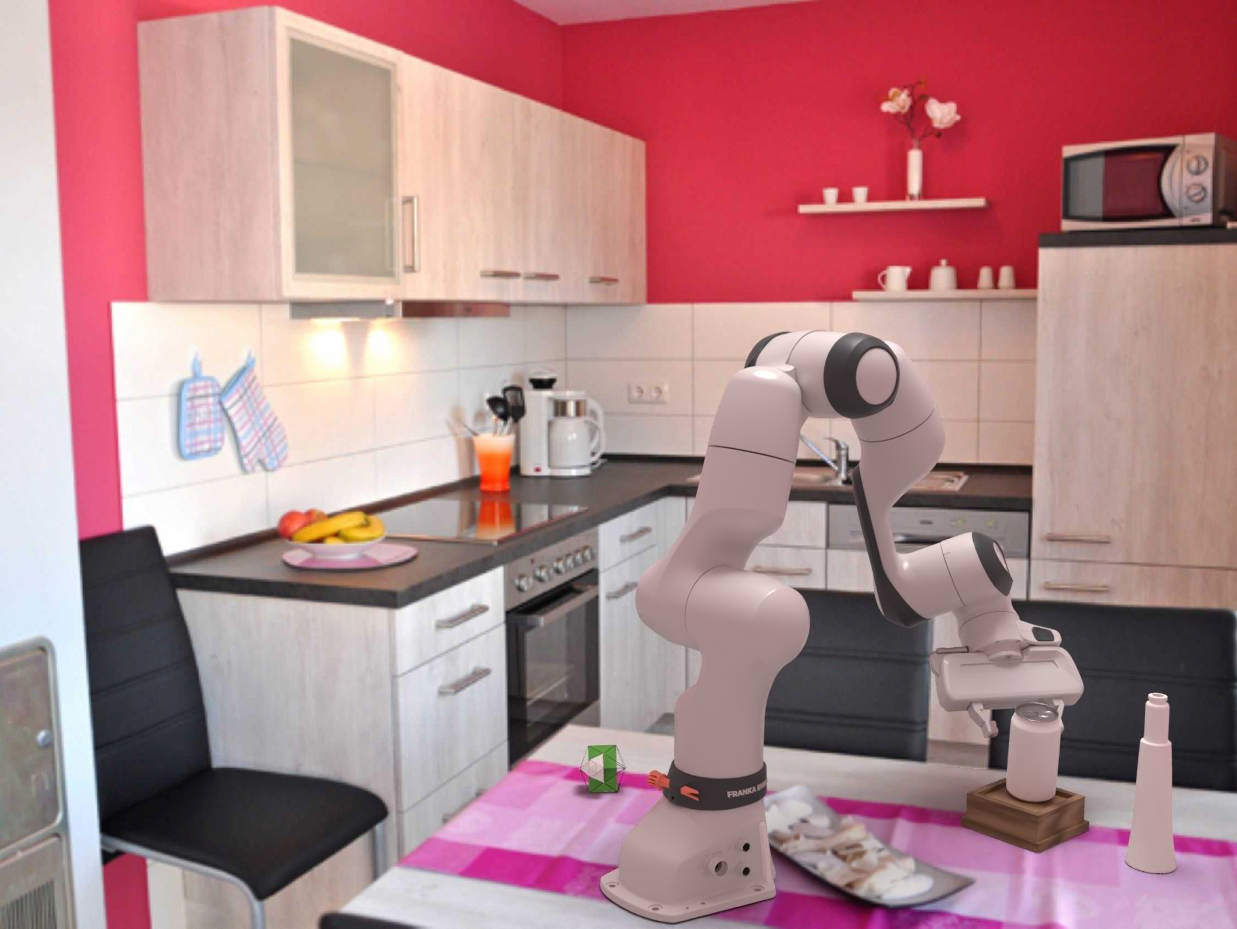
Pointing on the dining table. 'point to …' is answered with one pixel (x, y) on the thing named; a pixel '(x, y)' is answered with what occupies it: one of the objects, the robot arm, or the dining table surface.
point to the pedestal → (1025, 817)
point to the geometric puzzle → (602, 768)
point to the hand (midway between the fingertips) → (1024, 734)
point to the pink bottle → (1153, 795)
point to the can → (1033, 752)
